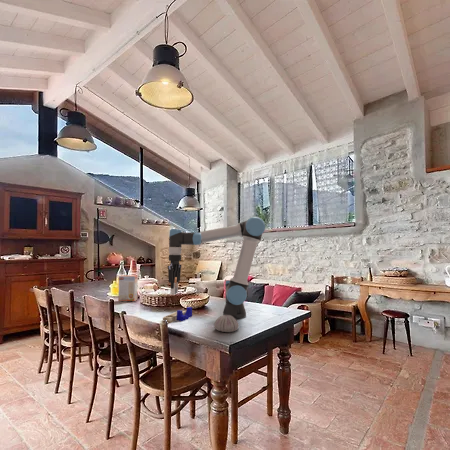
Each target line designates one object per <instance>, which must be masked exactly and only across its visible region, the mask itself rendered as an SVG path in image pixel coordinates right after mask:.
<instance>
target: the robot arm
mask: <svg viewBox="0 0 450 450" xmlns="http://www.w3.org/2000/svg"><path fill="white" fill-rule="evenodd" d="M265 231H266V223H265V222H264V220H263V219H262V218H260V217H258V216H252V217H250V218H248V219H246V220H245V221H243V222H238V223H237V224H235V225H230V226H225V227H218V228H214V229H208V230H204V231H203V230H202V231H198V232H183V231H182V228H171V229H170V230H169V236H168V238H169V239H168V254H169V255H168V261H169V262H170V263H169V265H167V271H168V272H167V273H168V274H167V275H168V276H167V277H168V283H170V294H171V295H176V294H179V283H180V282H181V281H180V280H181V273H182V272H181V271H182V264H180V262H181V261H182V249H183V248H182V246H184V245H185V246H187V245H189V246H191V245H192V246H197V245H198V246H200V245H201V244H204V243H209V242H215V241H220V240H226V239H231V238H235V237H240V238H242V239H243V242H242V244H241V248H240V253H239V256H238V259H237V264H236V265H235V266H236V267H235V271H234V274H233V277H231V278H230V279H229V280H228V279H227V280H225V284H224V286H225V303H224V304H225V305H224V308H223V311H222V316H223V315H231V316H233V317H234V318H235V319H236V320H237V319H243V318H246V317H247V311H246V309H245V305H244V302H246V300H247V298H248V297H247V296H248V294H247V292H248V288H249V285H250V284H249V282H248V279H249V275H250V271H251V269H252V268H251V267H252V264H253V260H254V257H255V253H256V249H257V246H258V243H259V242H261V240H262V236H263V233H264V232H265ZM175 277H177V285H176V294H175Z"/></svg>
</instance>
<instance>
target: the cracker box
mask: <svg viewBox="0 0 450 450" xmlns="http://www.w3.org/2000/svg"><path fill="white" fill-rule="evenodd" d="M138 280H139V279H138V275H126V274H125V275H119V276H118V302H119V301H135V302H137V301H138ZM136 300H137V301H136Z"/></svg>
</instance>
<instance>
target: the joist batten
mask: <svg viewBox="0 0 450 450" xmlns="http://www.w3.org/2000/svg"><path fill="white" fill-rule="evenodd" d="M181 311H182V313H183V315H185V313H186V311H187V310H181ZM163 320H167V322H168V323H167V324H172V323H174V322H176V321H178V320H177V311H175V312H172V313H170V314H168V315H165V316H163V317H162V321H163Z"/></svg>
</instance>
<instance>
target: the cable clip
mask: <svg viewBox="0 0 450 450" xmlns="http://www.w3.org/2000/svg"><path fill="white" fill-rule="evenodd" d="M182 311H183V310H181V309H178V310H176V312H177V320H176V321H178V320H179V322H180V321H181V322H184V321H187V320H189V317H190V318H192V317H193V307H191V306H188V307H186V310H185V311H186V313H185V315H183V313H182Z"/></svg>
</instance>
